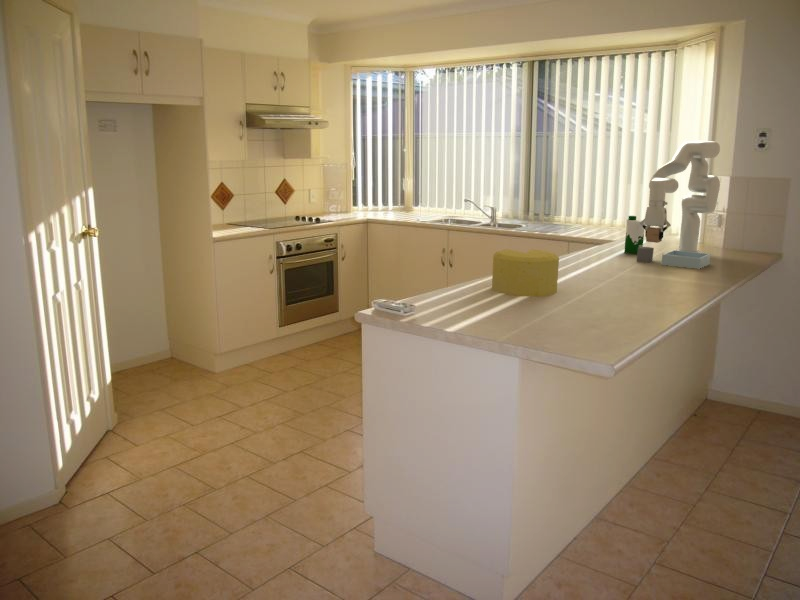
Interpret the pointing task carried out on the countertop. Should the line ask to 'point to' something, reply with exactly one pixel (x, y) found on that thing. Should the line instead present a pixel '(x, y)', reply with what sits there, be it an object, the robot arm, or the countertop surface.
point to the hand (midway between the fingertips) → (654, 238)
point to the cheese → (525, 273)
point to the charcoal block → (645, 254)
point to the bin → (685, 259)
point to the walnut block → (653, 234)
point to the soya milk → (633, 235)
